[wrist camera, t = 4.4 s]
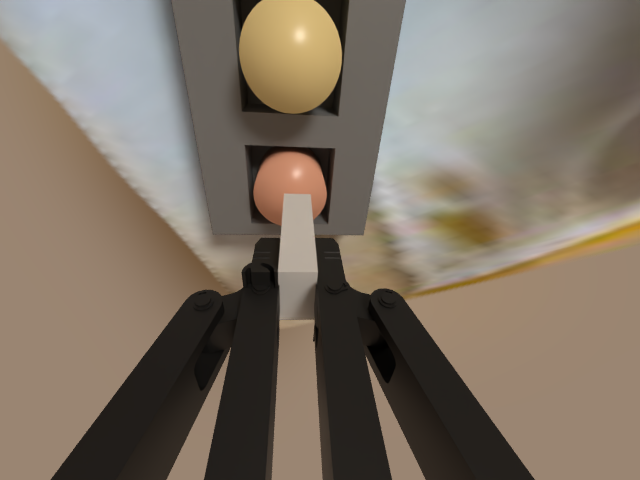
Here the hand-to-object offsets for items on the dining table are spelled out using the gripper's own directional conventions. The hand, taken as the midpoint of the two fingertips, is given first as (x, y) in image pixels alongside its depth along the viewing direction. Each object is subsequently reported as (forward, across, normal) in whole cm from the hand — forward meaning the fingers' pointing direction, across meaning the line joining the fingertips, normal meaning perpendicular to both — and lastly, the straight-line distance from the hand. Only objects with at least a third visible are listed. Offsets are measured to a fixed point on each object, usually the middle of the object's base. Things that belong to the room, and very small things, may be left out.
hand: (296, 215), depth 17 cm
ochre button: (+6, 0, +8) cm, 10 cm away
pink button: (+7, 0, -1) cm, 7 cm away
